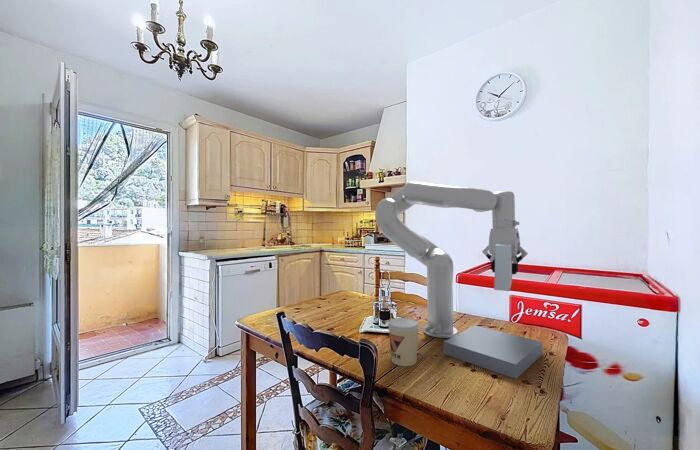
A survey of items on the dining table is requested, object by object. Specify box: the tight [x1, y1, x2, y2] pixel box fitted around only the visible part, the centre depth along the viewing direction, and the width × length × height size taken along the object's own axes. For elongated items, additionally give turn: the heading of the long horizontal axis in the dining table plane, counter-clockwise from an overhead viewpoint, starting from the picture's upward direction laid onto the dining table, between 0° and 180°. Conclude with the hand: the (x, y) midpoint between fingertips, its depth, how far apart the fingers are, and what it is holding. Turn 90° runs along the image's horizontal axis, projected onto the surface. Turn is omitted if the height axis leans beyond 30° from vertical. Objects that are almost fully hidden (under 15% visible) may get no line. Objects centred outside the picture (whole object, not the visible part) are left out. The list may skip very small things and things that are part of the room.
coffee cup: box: [388, 317, 420, 367], centre depth 95 cm, size 9×9×12 cm
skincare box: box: [493, 244, 513, 292], centre depth 114 cm, size 21×5×16 cm, turn 150°
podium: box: [442, 324, 543, 380], centre depth 98 cm, size 22×22×4 cm
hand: (504, 272), depth 113 cm, fingers closed on skincare box, 6 cm apart
